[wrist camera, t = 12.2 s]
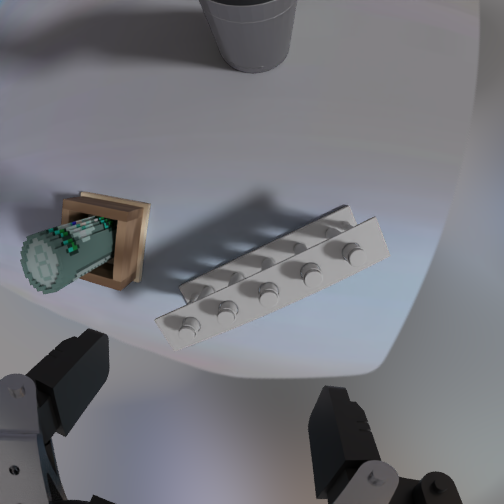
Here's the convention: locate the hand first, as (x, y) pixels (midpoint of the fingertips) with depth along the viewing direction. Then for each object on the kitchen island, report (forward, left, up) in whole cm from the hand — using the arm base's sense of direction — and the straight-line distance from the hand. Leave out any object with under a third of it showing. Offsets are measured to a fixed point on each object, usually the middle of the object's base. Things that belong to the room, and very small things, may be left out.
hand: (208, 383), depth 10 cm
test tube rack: (+3, +3, -30) cm, 31 cm away
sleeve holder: (+5, -20, -30) cm, 36 cm away
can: (+4, -20, -29) cm, 36 cm away
